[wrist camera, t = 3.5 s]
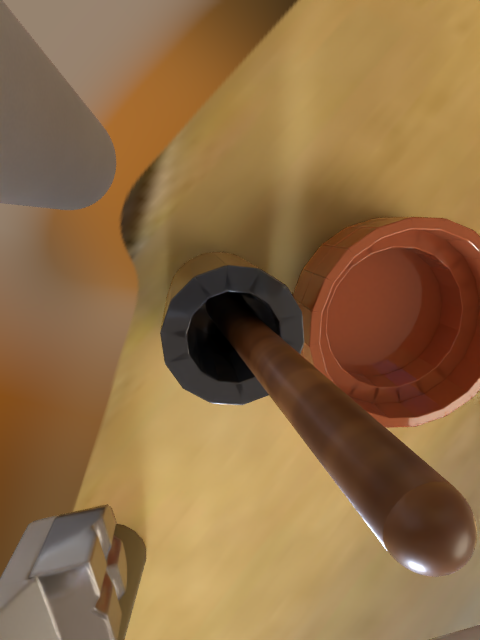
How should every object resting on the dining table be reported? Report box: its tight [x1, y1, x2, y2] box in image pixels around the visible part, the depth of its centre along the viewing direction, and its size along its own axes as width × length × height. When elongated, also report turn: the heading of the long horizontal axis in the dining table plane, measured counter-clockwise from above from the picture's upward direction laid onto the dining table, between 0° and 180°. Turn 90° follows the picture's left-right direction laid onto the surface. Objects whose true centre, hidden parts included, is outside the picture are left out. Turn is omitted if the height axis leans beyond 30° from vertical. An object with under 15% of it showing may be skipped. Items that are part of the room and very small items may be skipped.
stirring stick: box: [206, 292, 477, 577], centre depth 18 cm, size 2×2×22 cm
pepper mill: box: [114, 524, 146, 640], centre depth 28 cm, size 6×6×11 cm
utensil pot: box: [160, 252, 305, 405], centre depth 25 cm, size 7×7×10 cm
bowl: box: [293, 217, 480, 428], centre depth 29 cm, size 13×13×6 cm
